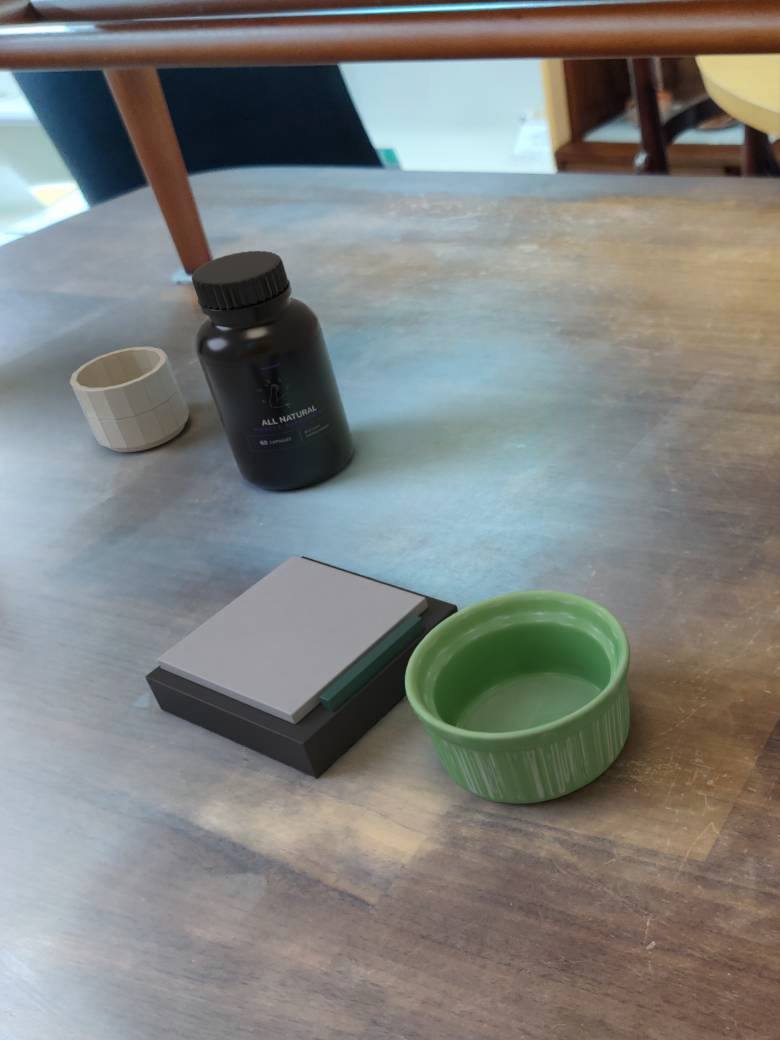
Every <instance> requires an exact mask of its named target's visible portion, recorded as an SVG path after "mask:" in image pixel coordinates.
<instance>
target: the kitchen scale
mask: <svg viewBox="0 0 780 1040" xmlns="http://www.w3.org/2000/svg"><path fill="white" fill-rule="evenodd" d="M458 611H459V609H458V606H457V605H456V604H454V603H452V602H447V601H445V600H441V599H438V598H435V597H432V596H428V595H426V594H423V593H420V592H417V591H413V590H410V589H407V588H403V587H401V586H398V585H394V584H392V583H388V582H385V581H382V580H379V579H376V578H373V577H370V576H367V575H363V574H360V573H358V572H354V571H352V570H351V571H350V570H348V569H345V568H342V567H339V566H336V565H333V564H329V563H326V562H323V561H320V560H316V559H313V558H310V557H307V556H304V555H302V556H297V555H292V556H290V557H289V558H287V559H286V560H284V561H283V562H282V563H280V565H278V566H277V567H275V568H274V569H273V570H272V571H269V572H268V573H267V574H266V575H265V576H264V577H263V578H261V579H260V580H258V581H257V582H256V583H254V584H253V585H251V586H250V587H249V588H248V589H247V590H245V591H244V592H243V593H241V594H240V595H239V596H238V597H236V598H235V599H233V600H232V601H231V602H230V603H228V604H227V605H226V606H224V607H223V608H221V609H220V610H219V611H218V612H217V613H215V614H213V615H212V616H210V617H209V619H207V620H205V622H203V623H202V624H200V625H199V626H198V627H197V628H195V629H194V630H193V631H191V632H190V633H189V634H188V635H186V636H185V637H183V638H182V639H181V640H179V641H178V642H177V643H176V644H174V645H173V646H172V647H170V648H169V649H167V650H166V651H165V652H164V653H162V654H161V655H160V656H158V657H157V658H156V661H157V663H158V665H157V666H156V667H155V668H154V669H152V671H150V672H149V673H147V674H146V675H145V677H144V678H145V680H146V682H147V684H148V686H149V688H150V690H151V692H152V694H153V696H154V699H155V700H156V702H157V704H158V706H159V707H160V710H162V711H165V712H167V713H169V714H171V715H173V716H175V717H178V718H180V719H182V720H185V721H187V722H189V723H191V724H194V725H196V726H198V727H200V728H202V729H205V730H207V731H209V732H211V733H214V734H216V735H218V736H221V737H223V738H225V739H228V740H230V741H232V742H234V743H236V744H239V745H241V746H243V747H246V748H248V749H249V750H252V751H255V752H257V753H260V754H262V755H263V756H265V757H268V758H270V759H272V760H275V761H277V762H280V763H282V764H283V765H286V766H289V767H291V768H293V769H296V770H298V771H300V772H302V773H305V774H307V775H309V776H312V777H314V778H319V777H320V776H321V775H322V774H323V773H324V772H325V771H326V770H327V769H328V768H329V767H330V766H331V765H333V763H335V762H336V761H337V759H339V758H340V757H341V756H342V755H343V754H345V752H347V750H348V749H350V747H351V746H353V745H354V744H355V743H356V742H357V741H358V740H359V739H360V738H361V737H362V736H363V735H365V734H366V732H367V731H368V730H370V729H371V728H372V727H373V726H374V725H375V724H376V723H377V722H378V721H379V720H381V718H383V717H384V716H385V715H386V714H387V713H388V712H389V711H390V710H391V709H392V708H393V707H395V705H396V704H397V703H398V702H400V701H401V700H402V699H403V698H404V697H405V696H407V694H406V688H405V674H406V669H407V666H408V663H409V660H410V658H411V656H412V654H413V652H414V651H415V649H416V647H417V646H418V645H419V643H420V642H421V641H422V640H423V639H424V637H425V636H426V635H427V634H428V633H429V632H430V631H431V630H432V629H434V628H435V627H436V626H437V625H438V624H440V623H441V622H443V621H444V620H445V619H447V618H448V617H450V616H452V615H453V614H455V613H457V612H458Z"/></svg>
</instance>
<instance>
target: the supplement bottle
mask: <svg viewBox="0 0 780 1040" xmlns="http://www.w3.org/2000/svg"><path fill="white" fill-rule="evenodd" d="M191 281H192V286H193V288H194V291H195V293H196V296H197V304H198V308H199V310H200V311H201V313H202V314H203V315H205V316H207V317H205V318H204V319H203V320H202V322H200V325H199V326H198V328H197V330H196V334H195V339H194V347H195V351H196V355H197V358H198V360H199V363H200V366H201V369H202V372H203V375H204V378H205V380H206V383H207V386H208V388H209V392H210V394H211V397H212V400H213V403H214V405H215V408H216V411H217V415H218V417H219V419H220V422H221V426H222V429H223V431H224V434H225V436H226V439H227V442H228V445H229V448H230V451H231V453H232V456H233V458H234V461H235V464H236V466H237V469H238V471H239V473H240V475H241V476H242V478H243V479H244V480H245V481H247V482H248V483H249V484H251V485H252V486H255V487H258V488H260V489H264V490H271V491H272V490H273V491H282V490H283V491H285V490H293V489H298V488H303V487H307V486H311V485H313V484H316V483H320V482H321V481H323V480H326V479H328V478H330V477H332V476H333V475H335V474H337V473H338V472H340V471H341V469H343V468H344V467H345V466H346V464H348V462H349V461H350V459H351V457H352V454H353V453H354V440H353V435H352V431H351V428H350V425H349V421H348V417H347V413H346V409H345V406H344V403H343V400H342V396H341V393H340V389H339V385H338V381H337V378H336V375H335V372H334V367H333V364H332V361H331V357H330V353H329V349H328V347H327V343H326V339H325V335H324V333H323V330H322V329H323V328H322V326H321V322H320V320H319V318H318V316H317V314H316V312H315V311H314V310H313V309H312V308H311V307H310V306H309V305H308V304H307V303H305V302H303V301H302V300H299V299H297V298H294V297H292V296H291V294H292V293H293V289H292V285H291V282H290V281H291V280H289V278H288V275H287V272H286V269H285V264H284V262H283V260H282V258H281V256H280V255H279V254H277V253H275V252H273V251H266V250H249V251H241V252H236V253H231V254H226V255H223V256H221V257H217V258H215V259H212V260H209V261H207V262H206V263H203V264H202V265H201V266H198V268H196V269H195V270H194V272H193V273H192V274H191Z"/></svg>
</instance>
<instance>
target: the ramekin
mask: <svg viewBox="0 0 780 1040" xmlns="http://www.w3.org/2000/svg"><path fill="white" fill-rule="evenodd" d="M624 628H625V627H623V625H622V623H621V621H620V620H619V619H618V617H617V616H616V615H615V614H613V613H612V612H611V610H609V609H608V608H607V607H605V606H604V605H602V604H600V603H598V602H597V601H594V600H593V599H591V598H589V597H585V596H582V595H580V594H576V593H572V592H566V591H563V590H562V591H561V590H552V589H551V590H550V589H548V590H546V589H537V590H522V591H521V590H520V591H514V592H508V593H504V594H501V595H495V596H493V597H490V598H487V599H483V600H480V601H478V602H475V603H473V604H471V605H468V606H466V607H464V608H462V609H460V610H458V612H457V613H455V614H453V615H452V616H450V617H448V618H447V619H445V620H444V621H443V622H441V623H440V624H438V625H437V626H436V627H435V628H434V629H432V630H431V631H430V632H429V633H428V634H427V635H426V636H425V637H424V639H423V640H422V641H421V642H420V643H419V645H418V646H417V647H416V649H415V651H414V652H413V654H412V656H411V658H410V660H409V663H408V666H407V669H406V674H405V688H406V698H407V700H408V702H409V705H410V707H411V708H412V710H413V712H414V713H415V715H416V716H417V718H418V720H420V722H421V723H422V724H423V725H424V727H425V729H426V731H427V733H428V736H429V738H430V740H431V742H432V745H433V747H434V749H435V751H436V754H437V756H438V758H439V760H440V762H441V765H442V766H443V768H444V770H445V772H446V773H447V775H448V776H449V777H450V779H452V780H453V781H454V783H456V784H457V785H458V786H459V787H461V788H462V789H463V790H465V791H466V792H468V793H470V794H472V795H474V796H477V797H479V798H482V799H484V800H488V801H492V802H496V803H504V804H505V803H506V804H517V805H518V804H534V803H541V802H546V801H549V800H555V799H557V798H558V799H559V798H560V797H563V796H566V795H569V794H572V793H573V792H575V791H578V790H580V789H581V788H583V787H585V786H586V785H588V784H590V783H591V782H593V781H594V780H596V779H597V778H598V777H600V776H601V775H602V774H603V773H605V771H607V770H608V769H609V768H610V766H611V765H612V764H613V763H614V762H615V760H616V759H617V758H618V757H619V755H620V753H621V752H622V750H623V748H624V747H625V744H626V742H627V739H628V737H629V732H630V726H631V705H630V696H629V695H630V694H629V683H628V674H629V669H630V663H631V648H630V642H629V638H628V634H627V632H626V630H625V629H624Z"/></svg>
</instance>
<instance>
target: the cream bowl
mask: <svg viewBox="0 0 780 1040" xmlns="http://www.w3.org/2000/svg"><path fill="white" fill-rule="evenodd" d="M69 384H70V386H71V389H72V390H73V393H74V395H75V398H76V399H77V402H78V403H79V405H80V408H81V410H82V412H83V415H84V416H85V419H86V421H87V423H88V425H89V428H90V430H91V431H92V433H93V436H94V438H95V440H96V441H97V443H98V444H99V445H100V446H102V447H105V448H108V449H109V450H110V451H113V452H116V453H117V452H118V453H134V452H142V451H146V450H149V449H152V448H155V447H159V446H161V445H164V444H165V443H167V442H169V441H171V440H173V439H174V438H175V437H177V436H178V435H179V434H180V433H181V432H182V431H183V430H184V428H185V427H186V423H187V421H188V419H189V415H190V410H189V407H188V404H187V401H186V399H185V397H184V394H183V392H182V389H181V387H180V384H179V382H178V379H177V376H176V374H175V371H174V368H173V366H172V363H171V361H170V359H169V357H168V354H166V352H165V351H164V350H163V348H157V347H153V346H133V347H127V348H122V349H117V350H113V351H111V352H107V353H104V354H102V355H99V356H97V357H94V358H93V359H90V360H89V361H86V362H85V363H83V364H82V365H81V366H79V367H78V368H77V369H76V370H75V371H74V372H72V374H71V377H70V380H69Z"/></svg>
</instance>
